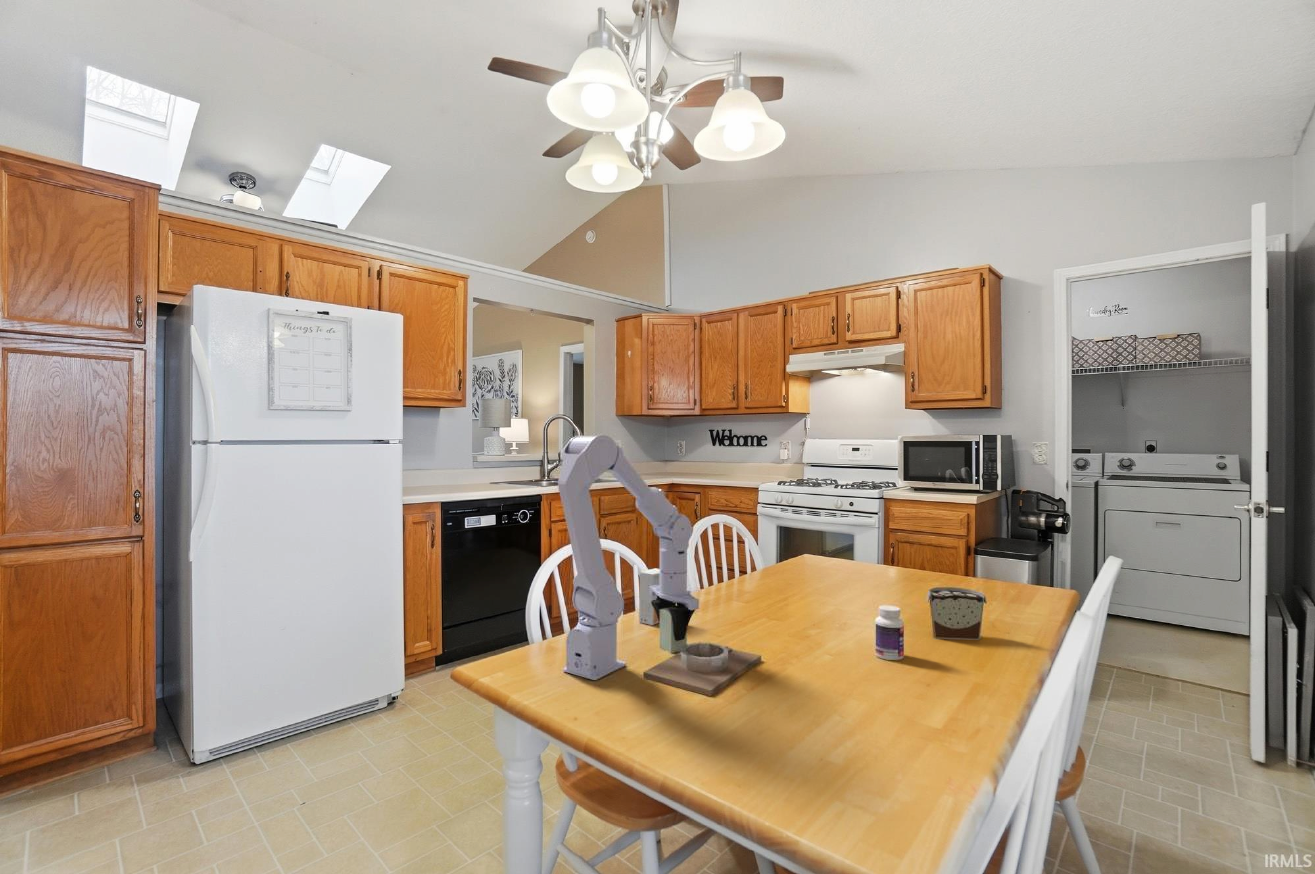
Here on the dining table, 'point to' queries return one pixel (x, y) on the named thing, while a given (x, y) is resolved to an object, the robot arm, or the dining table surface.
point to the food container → (956, 612)
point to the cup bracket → (702, 667)
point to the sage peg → (669, 633)
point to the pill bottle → (889, 633)
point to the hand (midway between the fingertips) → (673, 636)
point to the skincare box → (648, 596)
